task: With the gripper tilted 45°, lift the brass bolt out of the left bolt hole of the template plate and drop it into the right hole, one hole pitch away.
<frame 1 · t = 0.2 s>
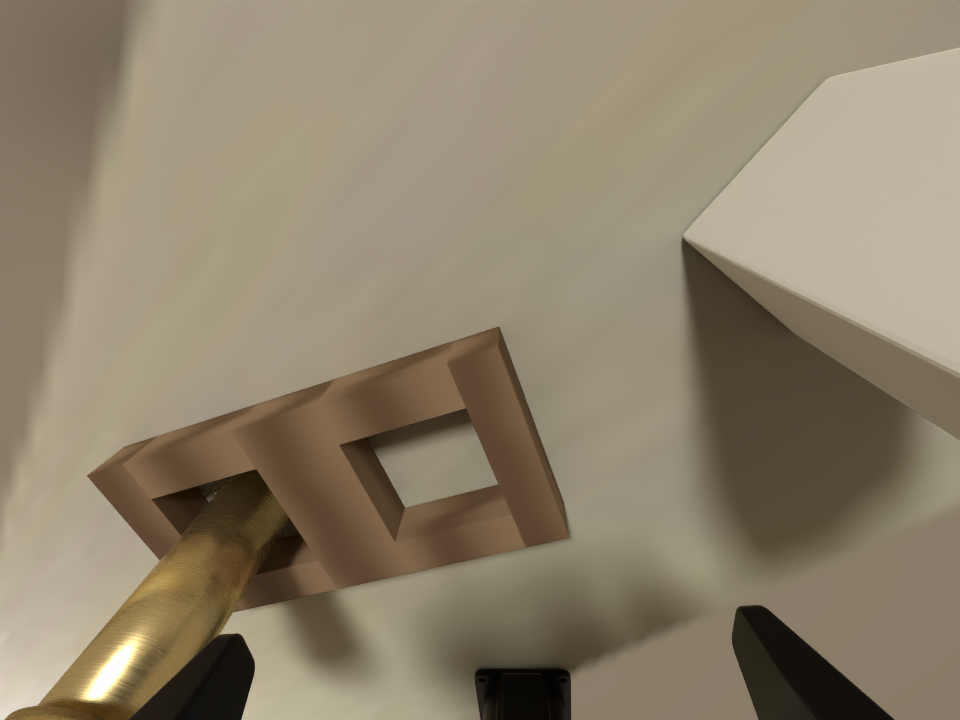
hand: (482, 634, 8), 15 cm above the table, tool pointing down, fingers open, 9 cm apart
milk carton: (803, 217, 19), on the table
brass bolt: (260, 497, 27), resting in template plate
template plate: (343, 474, 25), on the table
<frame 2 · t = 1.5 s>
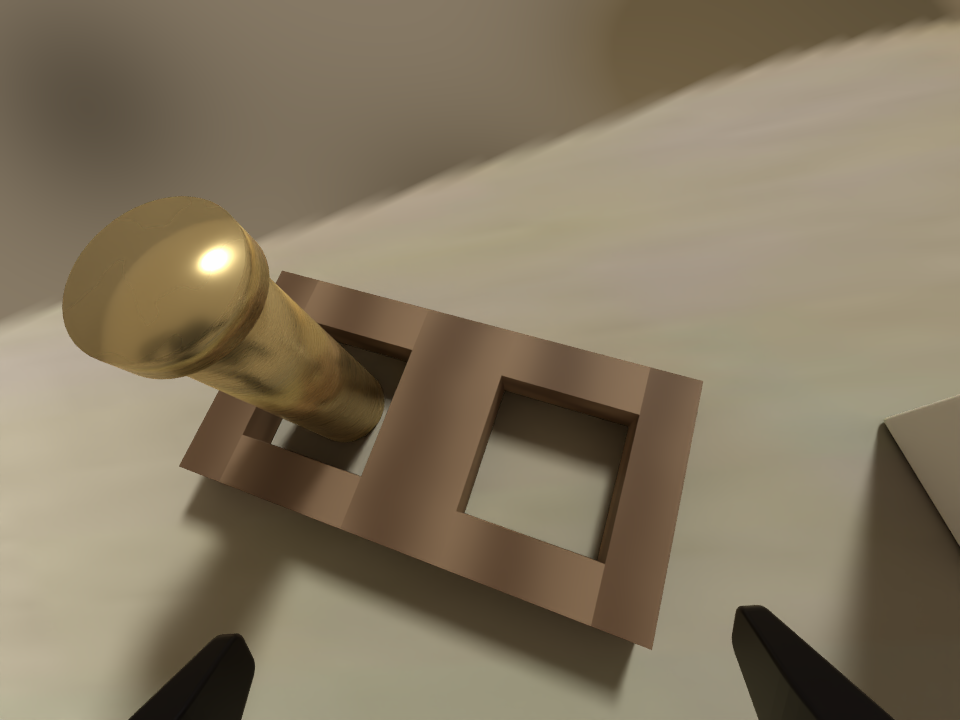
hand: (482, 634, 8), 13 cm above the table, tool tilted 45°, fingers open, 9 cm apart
brass bolt: (348, 404, 25), resting in template plate
template plate: (442, 435, 23), on the table
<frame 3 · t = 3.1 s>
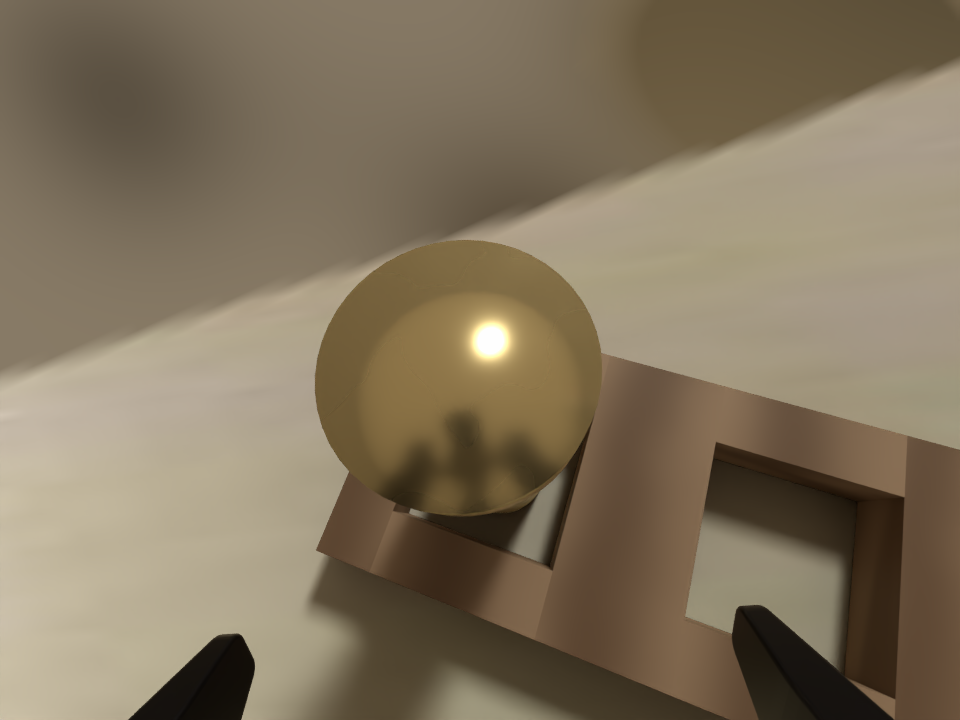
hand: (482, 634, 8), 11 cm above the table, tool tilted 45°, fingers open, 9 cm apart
brass bolt: (500, 466, 21), resting in template plate
template plate: (623, 507, 19), on the table
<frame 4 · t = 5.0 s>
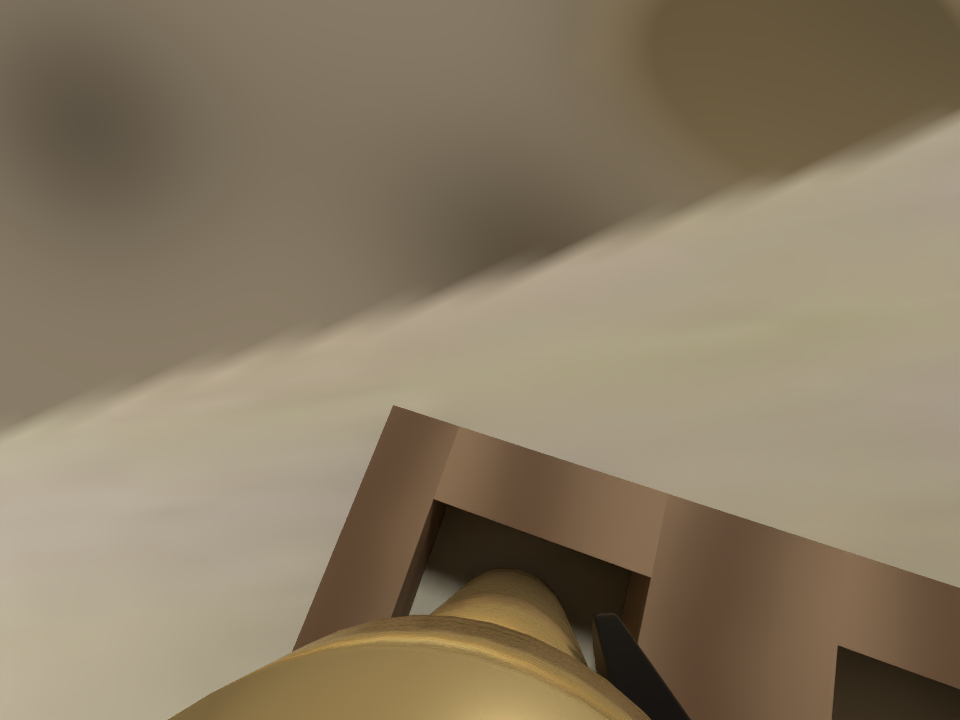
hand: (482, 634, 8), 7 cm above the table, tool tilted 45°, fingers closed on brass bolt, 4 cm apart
brass bolt: (506, 638, 14), resting in template plate, touching gripper
template plate: (686, 713, 13), on the table
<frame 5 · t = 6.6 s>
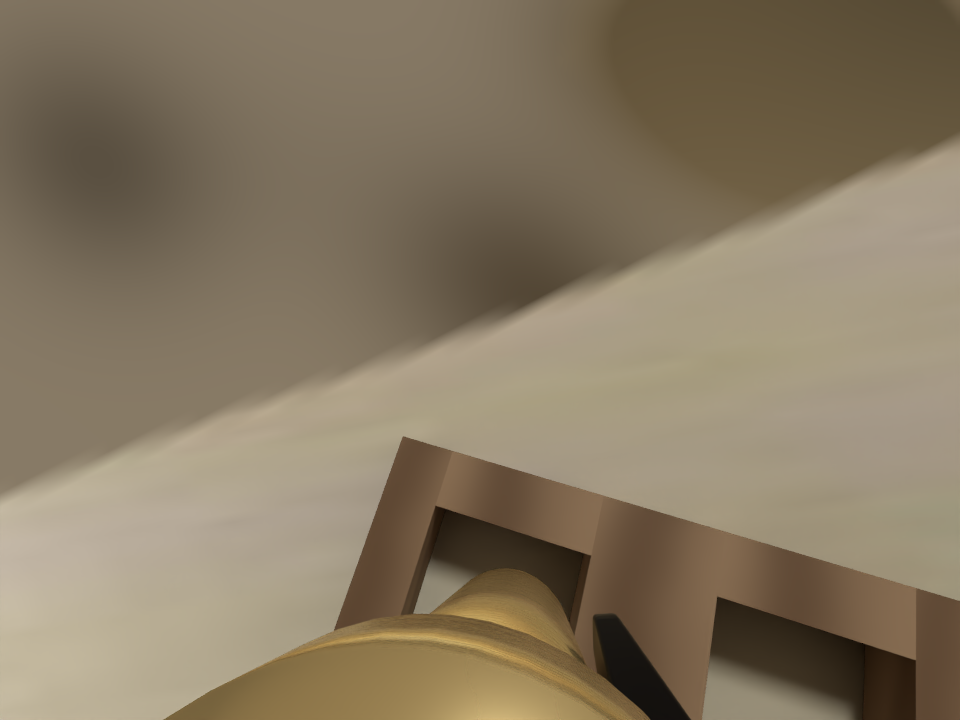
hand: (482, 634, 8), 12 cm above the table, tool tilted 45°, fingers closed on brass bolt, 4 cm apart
brass bolt: (506, 637, 14), point 5 cm above the table, touching gripper
template plate: (623, 652, 19), on the table
when the fingers open (10 cm above the table, at t = 8.5 s): brass bolt drops 3 cm, resting in template plate.
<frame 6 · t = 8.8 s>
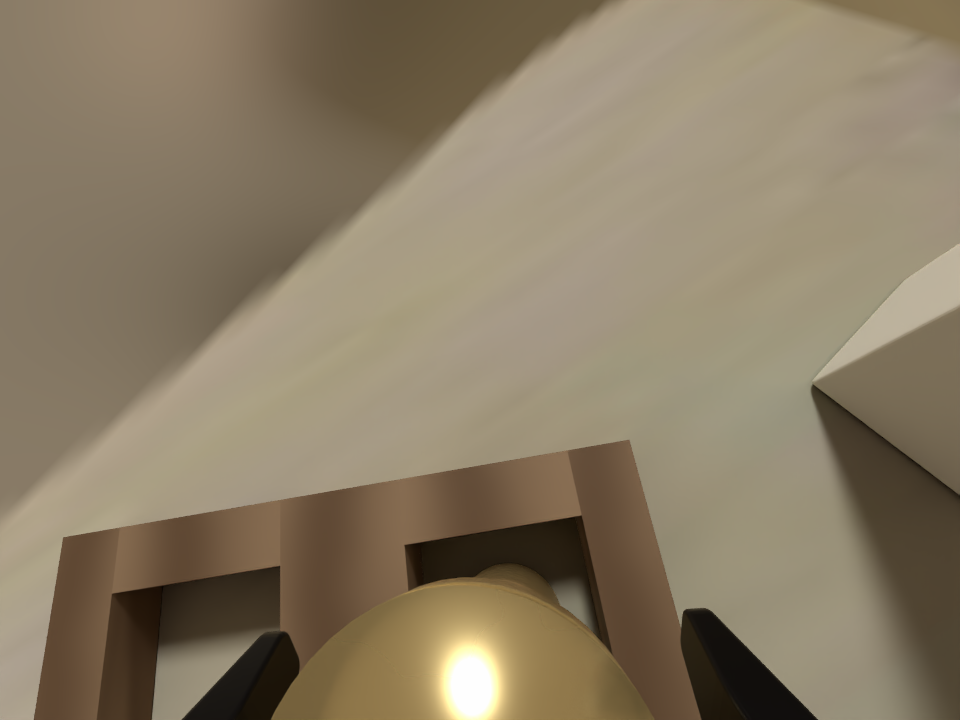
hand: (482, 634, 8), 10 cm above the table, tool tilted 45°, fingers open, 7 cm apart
milk carton: (933, 387, 19), on the table
brass bolt: (509, 620, 17), resting in template plate
template plate: (370, 641, 18), on the table
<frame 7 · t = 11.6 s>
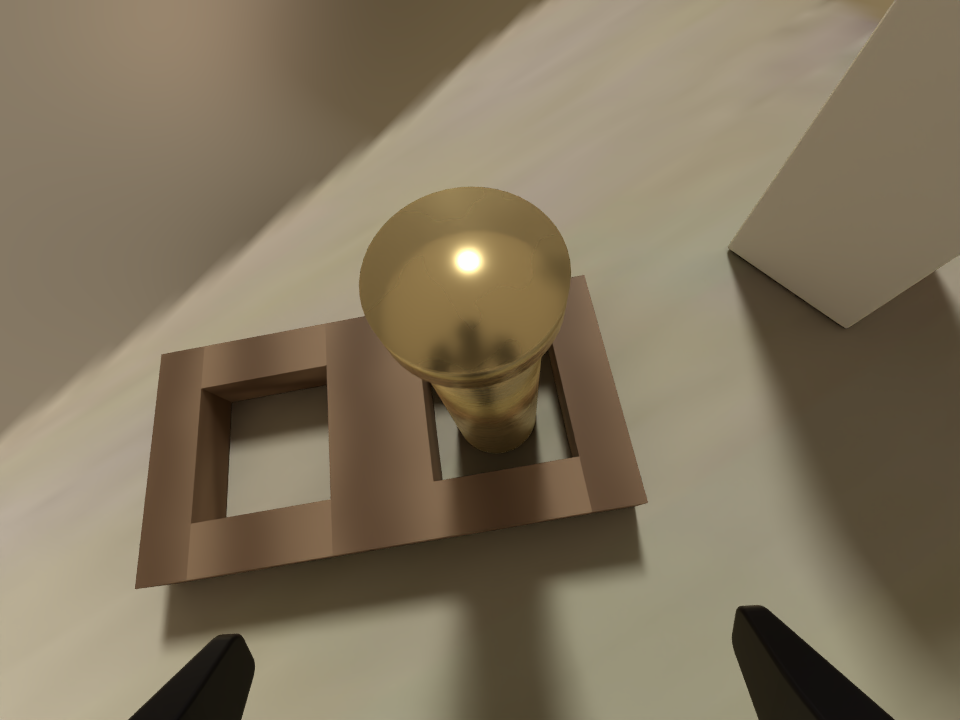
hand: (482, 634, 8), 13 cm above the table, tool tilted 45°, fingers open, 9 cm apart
milk carton: (819, 249, 25), on the table
brass bolt: (496, 413, 23), resting in template plate
template plate: (391, 431, 24), on the table
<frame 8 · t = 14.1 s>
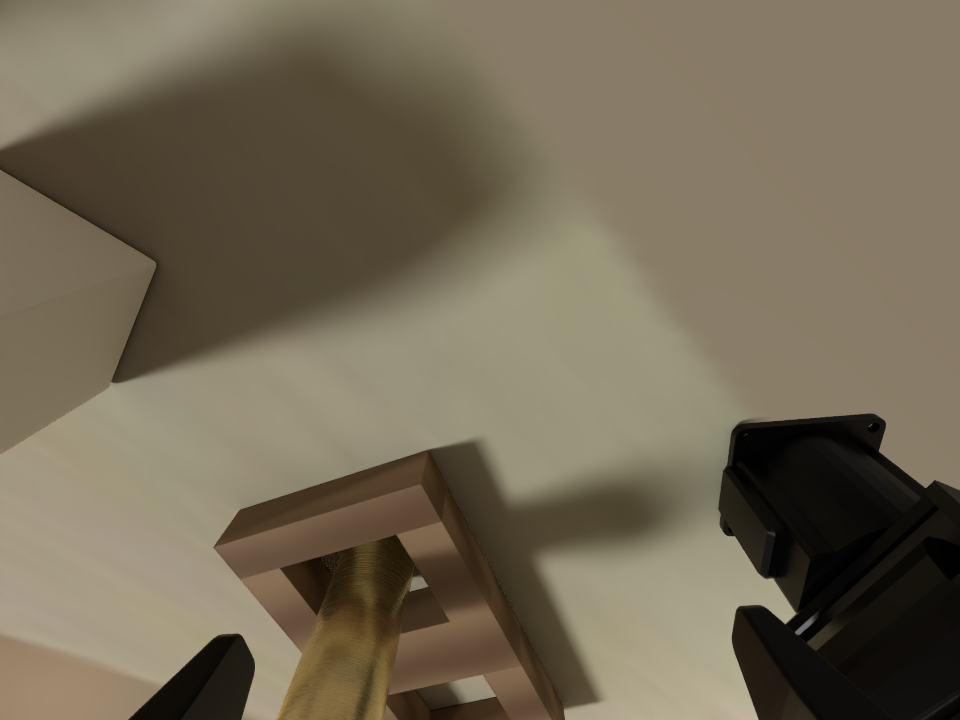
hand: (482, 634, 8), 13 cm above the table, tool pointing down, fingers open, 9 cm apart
milk carton: (57, 281, 20), on the table
brass bolt: (379, 556, 25), resting in template plate
template plate: (419, 619, 28), on the table
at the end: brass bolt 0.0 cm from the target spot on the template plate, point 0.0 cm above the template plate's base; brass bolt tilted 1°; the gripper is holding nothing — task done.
